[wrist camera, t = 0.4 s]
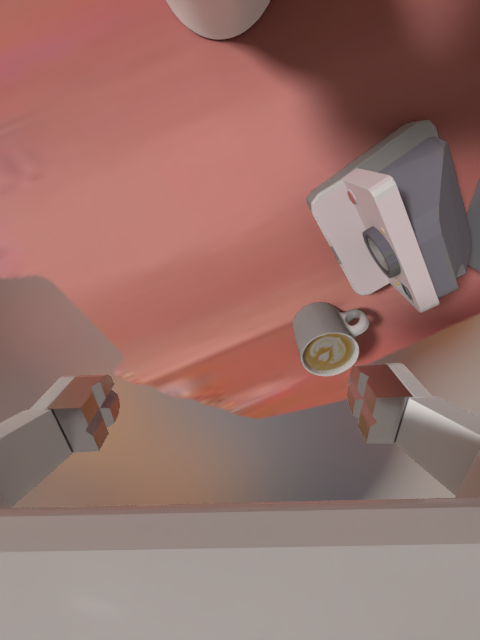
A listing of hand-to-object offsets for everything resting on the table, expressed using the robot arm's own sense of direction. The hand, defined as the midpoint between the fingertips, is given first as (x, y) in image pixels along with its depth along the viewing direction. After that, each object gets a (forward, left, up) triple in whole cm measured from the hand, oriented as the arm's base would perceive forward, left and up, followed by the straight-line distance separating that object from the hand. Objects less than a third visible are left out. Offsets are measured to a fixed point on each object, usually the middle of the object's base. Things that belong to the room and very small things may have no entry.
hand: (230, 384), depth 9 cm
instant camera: (+4, +22, -40) cm, 46 cm away
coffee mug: (+24, +15, -40) cm, 49 cm away
